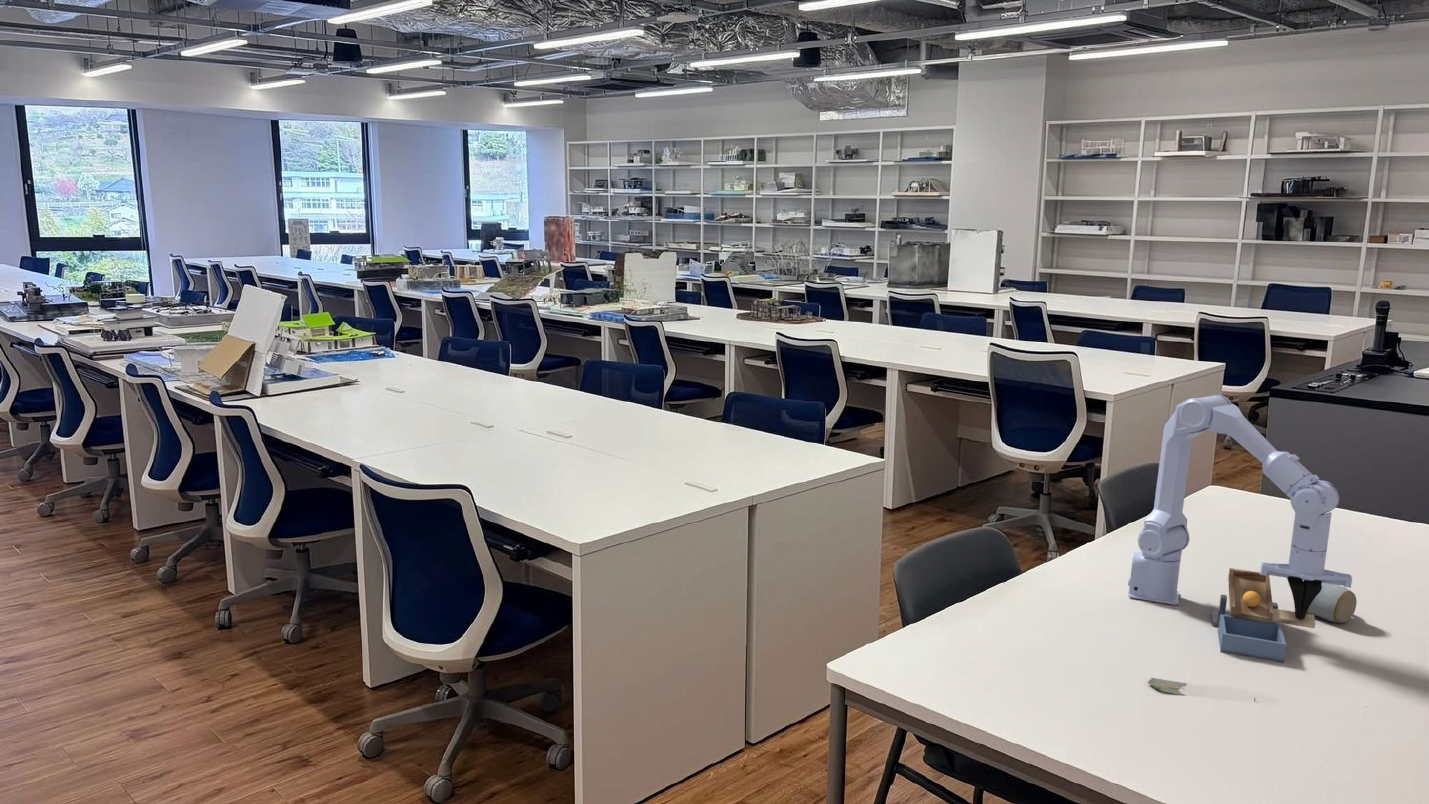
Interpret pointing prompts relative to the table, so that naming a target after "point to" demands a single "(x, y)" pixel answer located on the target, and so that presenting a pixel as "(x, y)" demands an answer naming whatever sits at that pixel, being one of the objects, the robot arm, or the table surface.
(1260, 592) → the tilt ramp
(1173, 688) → the map
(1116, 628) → the table surface
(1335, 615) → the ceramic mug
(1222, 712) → the table surface
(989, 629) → the table surface
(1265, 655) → the bin
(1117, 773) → the table surface
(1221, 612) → the pivot stand
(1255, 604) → the orange ball
